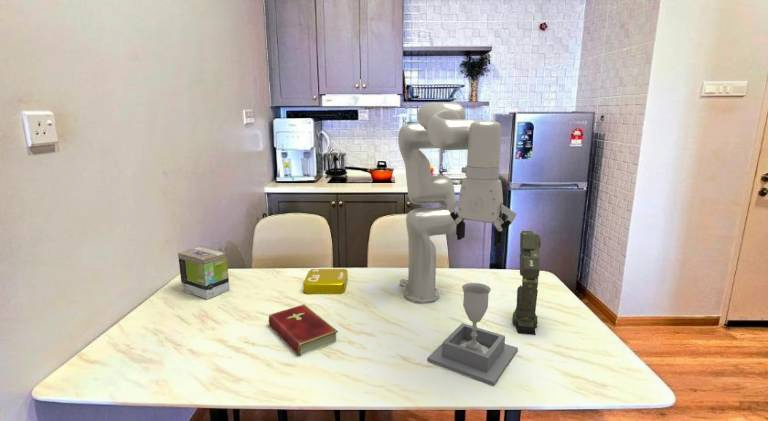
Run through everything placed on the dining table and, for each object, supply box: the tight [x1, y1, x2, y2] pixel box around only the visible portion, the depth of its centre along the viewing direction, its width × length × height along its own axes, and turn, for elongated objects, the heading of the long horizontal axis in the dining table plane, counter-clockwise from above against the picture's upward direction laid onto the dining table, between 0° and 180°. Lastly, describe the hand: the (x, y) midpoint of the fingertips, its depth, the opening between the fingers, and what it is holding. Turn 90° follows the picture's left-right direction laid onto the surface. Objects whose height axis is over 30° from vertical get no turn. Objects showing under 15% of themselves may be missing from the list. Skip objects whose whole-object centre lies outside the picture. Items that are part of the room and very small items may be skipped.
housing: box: [426, 322, 519, 387], centre depth 110 cm, size 18×18×5 cm
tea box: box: [177, 246, 230, 300], centre depth 151 cm, size 15×10×15 cm
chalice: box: [461, 282, 492, 353], centre depth 109 cm, size 7×7×18 cm
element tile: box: [302, 268, 349, 295], centre depth 156 cm, size 15×15×5 cm
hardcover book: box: [268, 304, 339, 357], centre depth 122 cm, size 12×21×4 cm, turn 37°
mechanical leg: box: [512, 230, 542, 336], centre depth 125 cm, size 14×7×30 cm, turn 168°
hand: (478, 241), depth 104 cm, fingers open, 9 cm apart
